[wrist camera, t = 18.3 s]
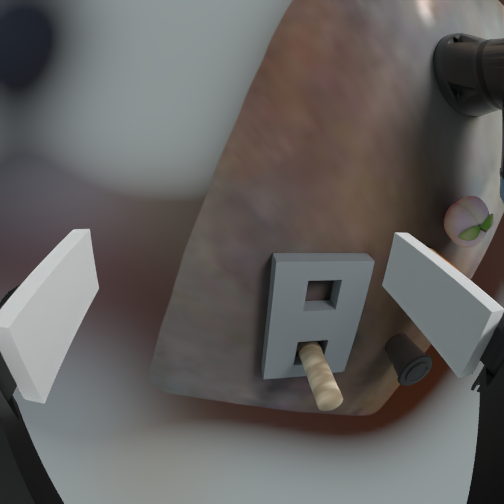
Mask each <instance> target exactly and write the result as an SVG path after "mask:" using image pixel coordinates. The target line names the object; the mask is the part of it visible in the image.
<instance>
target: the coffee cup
mask: <svg viewBox="0 0 504 504" xmlns="http://www.w3.org/2000/svg"><path fill="white" fill-rule="evenodd" d="M386 351H387V353H388V355H389V358H390V360H391V362H392V364H393V366H394V368H395V371H396V373H397V375H398V382H399V383H400V384H401V385H405V386H407V385H412V384H414V383H416V382H418V381H420V380H421V379H422V378H423V377H424V376H425V375H426V374H427V373H428V372H429V370H430V368H431V366H432V358H431V357H430V356H429V355H425V354H424V353H423V352H422V351H421V350H420V349H419V348H418V347H417V346H416V345H415V344H414V343H413V342H412V341H411V340H410V339H409V338H408V337H407V336H406V335H405V334H397V335H395V336H393V337H392V338H391V339H390V340H389V341H388V342H387V344H386Z"/></svg>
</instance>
